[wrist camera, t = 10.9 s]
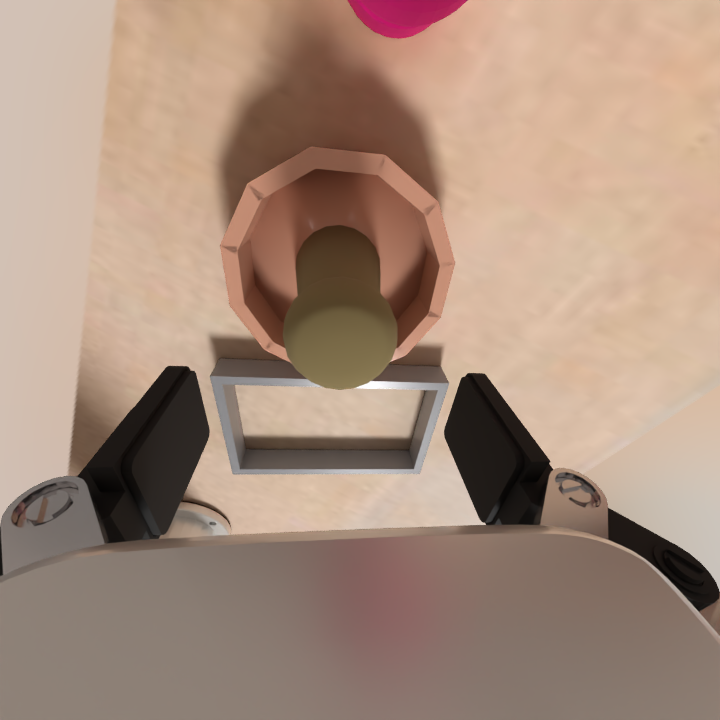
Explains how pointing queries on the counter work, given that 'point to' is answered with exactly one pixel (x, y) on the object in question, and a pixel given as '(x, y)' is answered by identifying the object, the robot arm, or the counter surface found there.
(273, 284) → the bowl
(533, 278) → the counter surface
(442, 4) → the pepper mill
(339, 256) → the olive pestle
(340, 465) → the grey rectangular frame
